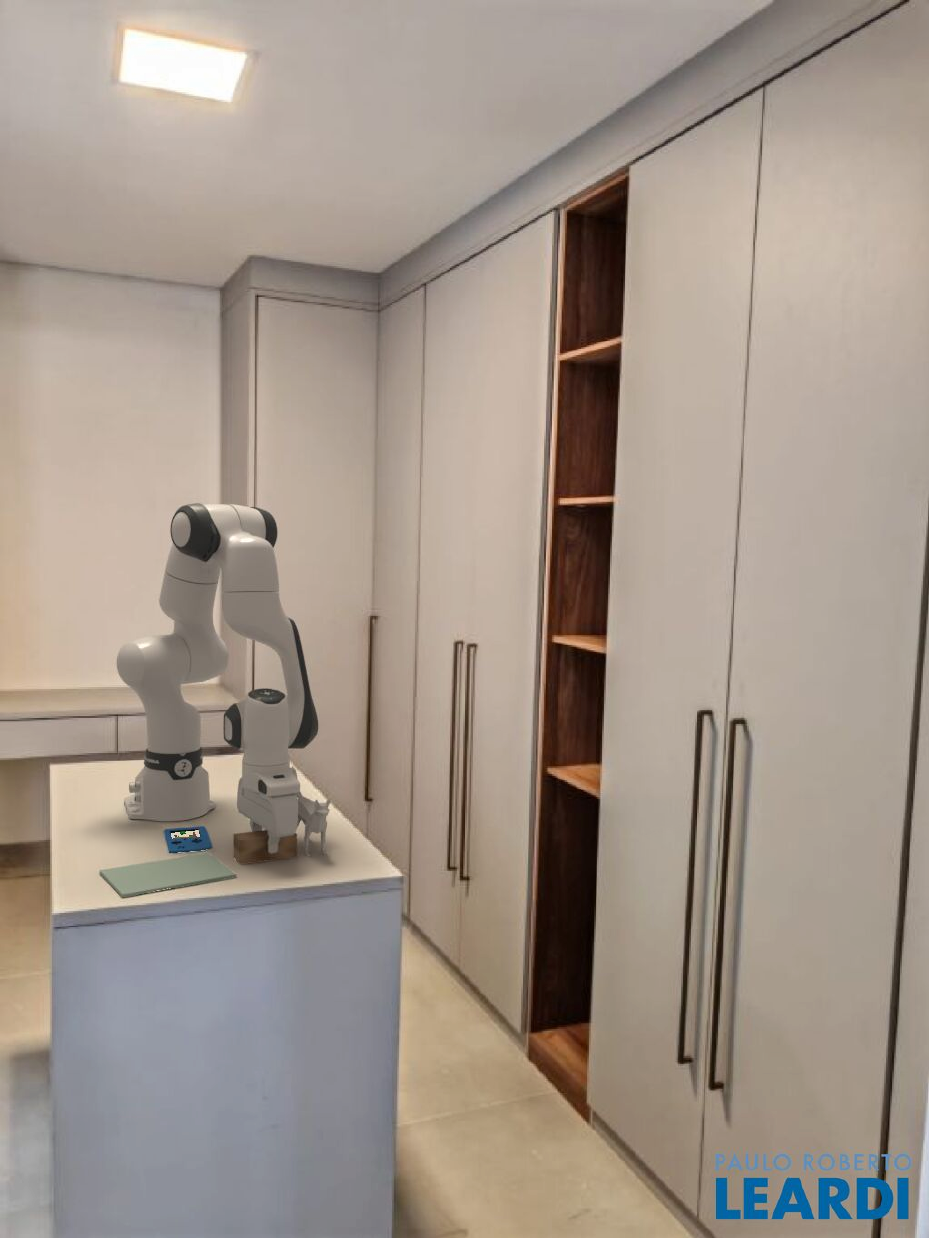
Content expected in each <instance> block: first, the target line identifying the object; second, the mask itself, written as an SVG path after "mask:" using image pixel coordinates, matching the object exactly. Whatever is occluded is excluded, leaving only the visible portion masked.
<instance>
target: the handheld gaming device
mask: <svg viewBox="0 0 929 1238" xmlns="http://www.w3.org/2000/svg"><path fill="white" fill-rule="evenodd" d="M195 830H199V834H200V837H197V836H196V834H195V832H193V835H189V837H179V836H178V837H177V835H174V836H175V838H173V839H172V837H171V833H175V832H180V834H181V835H183V834H186V833H185V832H186V831H195ZM163 834H165V835H164V838H165V843H166V847H167V851H168V854H170V853H173V854H179V853H178V852H186V853H191V852H190V851H198V852H202V851H201V850H206V849H209V850H211V849H212V848H213V843H212V841H211V838H210V835H209V833H208V830H207V828H206V826H205V825H199V826H188V827H175V828H173V827H172V828H166V829H164V830H163ZM206 851H207V850H206Z"/></svg>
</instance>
